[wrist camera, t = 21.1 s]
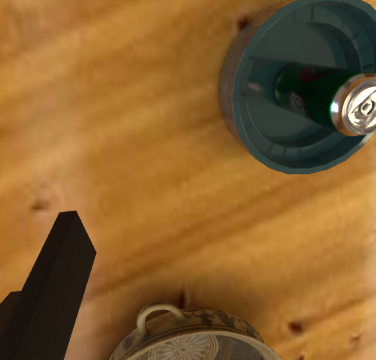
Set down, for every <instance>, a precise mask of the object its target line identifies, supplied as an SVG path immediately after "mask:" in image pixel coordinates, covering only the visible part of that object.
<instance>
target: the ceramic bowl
mask: <svg viewBox="0 0 376 360" xmlns="http://www.w3.org/2000/svg"><path fill="white" fill-rule="evenodd" d="M161 309H163V310H168V311H170V312H168V313H165V314H162V315H159V316H157V317H155V318H153V319H151V320H149V321H147V322H145V318H146V316H147V315H148V314H150V313H151V312H152V311H155V310H161ZM109 360H281V358H280V357H279V356H278V355H277V353H276V352H275V351H274V350H273V349H272V348H270V347H269V346H268V345H266V344H265V343H264V341H263V340H262V338H261V336H260V335H259V333H258V332H257V331H256V330H255V329H254V328H253V327H252V326H251V325H250V324H249V323H247V322H246V321H245V320H243V319H241V318H239V317H237V316H236V315H233V314H231V313H228V312H225V311H221V310H217V309H210V308H186V309H179V308H178V307H176V306H175V305H174V304H172V303H170V302H167V301H158V302H153V303H150V304H148V305H147V306H145V307H144V308H143V309H142V310H141V311H140V312H139V314H138V316H137V328H136V329H135V330H133V331H132V332H131V333H130V334H128V335H127V336H126V337H125V338H124V339H123V340H122V341H121V343H120V344H119V345H118V346H117V347H116V349H115V351H114V352H113V354H112V355H111V357H110V359H109Z"/></svg>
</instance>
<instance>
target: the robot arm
mask: <svg viewBox="0 0 376 360" xmlns="http://www.w3.org/2000/svg"><path fill="white" fill-rule="evenodd" d="M95 256H96V251H95V249H94V246H93V244H92V242H91V240H90V238H89V236H88V234H87V232H86V230H85V228H84V226H83V224H82V222H81V219H80V217H79V215H78V213H77V211H67V212H59V215H58V217H57V219H56V221H55V223H54V225H53V227H52V229H51V231H50V233H49V235H48V237H47V239H46V241H45V243H44V245H43V247H42V249H41V252H40V254H39V256H38V258H37V260H36V262H35V264H34V266H33V268H32V270H31V272H30V274H29V276H28V278H27V280H26V282H25V284H24V287H23V289H22V291H15V292H11V293H10V294H9V295H8V296H7V297H6V298H5V299H4V300H3V301H2V302H1V304H0V360H64V357H65V354H66V350H67V347H68V344H69V341H70V337H71V334H72V331H73V328H74V324H75V321H76V318H77V315H78V311H79V308H80V305H81V302H82V298H83V295H84V292H85V289H86V285H87V282H88V279H89V276H90V272H91V269H92V266H93V263H94V259H95Z"/></svg>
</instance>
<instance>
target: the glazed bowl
mask: <svg viewBox="0 0 376 360" xmlns="http://www.w3.org/2000/svg"><path fill="white" fill-rule="evenodd" d="M295 63H308V64H315V65H322V66H329V67H336V68H343V69H350V70H357V71H364V72H371V73H374V74H376V10H375V9H374V8H373V7H372V6H371V5H370V4H368V3H366V2H364V1H362V0H284V1H281V2H278V3H276V4H275V5H273V6H271V7H269V8H267V9H265V10H263V11H261V12H260V13H259V14H258V15H256V16H255V17H254V18H253V19H252V20H251V21H250V22H249V23H248V24H247V25H246V26H244V27H243V29H242V30H241V32H240V33H239V35H238V36H237V38H236V39H235V41H234V42H233V44H232V45H231V47H230V48H229V50H228V53H227V56H226V59H225V61H224V64H223V67H222V71H221V78H220V87H219V98H220V105H221V113H222V116H223V118H224V120H225V123H226V125H227V127H228V130H229V132H230V133H231V134H232V135H233V137H234V138H235V139H236V140H237V141H238V143H239V144H240V145H241V146H242V147H243V148H244V149H245V150H246V151H248V152H249V153H250V154H251V155H252V156H253V157H254V158H255V159H257V160H258V161H260V162H261V163H263V164H264V165H266V166H267V167H269V168H270V169H273V170H276V171H280V172H283V173H286V174H311V173H315V172H319V171H323V170H327V169H330V168H332V167H334V166H336V165H338V164H339V163H341V162H343V161H345V160H347V159H348V158H349V157H350V156H352V155H353V154H354V153H355V152H357V151H358V150H359V149H360V148H362V147H363V146H364V145H365V143H366V142H367V141H368V140H369V139H370V137H371V136H372V135H373V134H374V133H375V131H374V132H372V133H370V134H366V135H358V136H345V135H342V134H340V133H338V132H336V131H333V130H331V129H329V128H327V127H324V126H322V125H320V124H318V123H315V122H313V121H311V120H308V119H306V118H304V117H302V116H299V115H297V114H295V113H293V112H290V111H288V110H286V109H284V108H282V107H281V106H280V105H279V103H278V102H277V100H276V97H275V85H276V81H277V79H278V77H279V75H280V74H281V72H282V71H283V70H284V69H285V68H287V67H288V66H290V65H292V64H295Z"/></svg>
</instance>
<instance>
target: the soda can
mask: <svg viewBox="0 0 376 360" xmlns="http://www.w3.org/2000/svg"><path fill="white" fill-rule="evenodd" d="M275 97H276V100H277V102H278V103H279V105H280V106H281V107H282V108H284V109H286V110H288V111H290V112H293V113H295V114H297V115H299V116H302V117H304V118H306V119H308V120H311V121H313V122H315V123H318V124H320V125H322V126H324V127H327V128H329V129H331V130H333V131H336V132H338V133H340V134H342V135H345V136H358V135H366V134H370V133H372V132H374V131H376V74H374V73H371V72H364V71H357V70H350V69H343V68H336V67H329V66H322V65H315V64H308V63H295V64H292V65H290V66H288V67H287V68H285V69H284V70H283V71H282V72H281V74H280V75H279V77H278V79H277V81H276V85H275Z"/></svg>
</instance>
